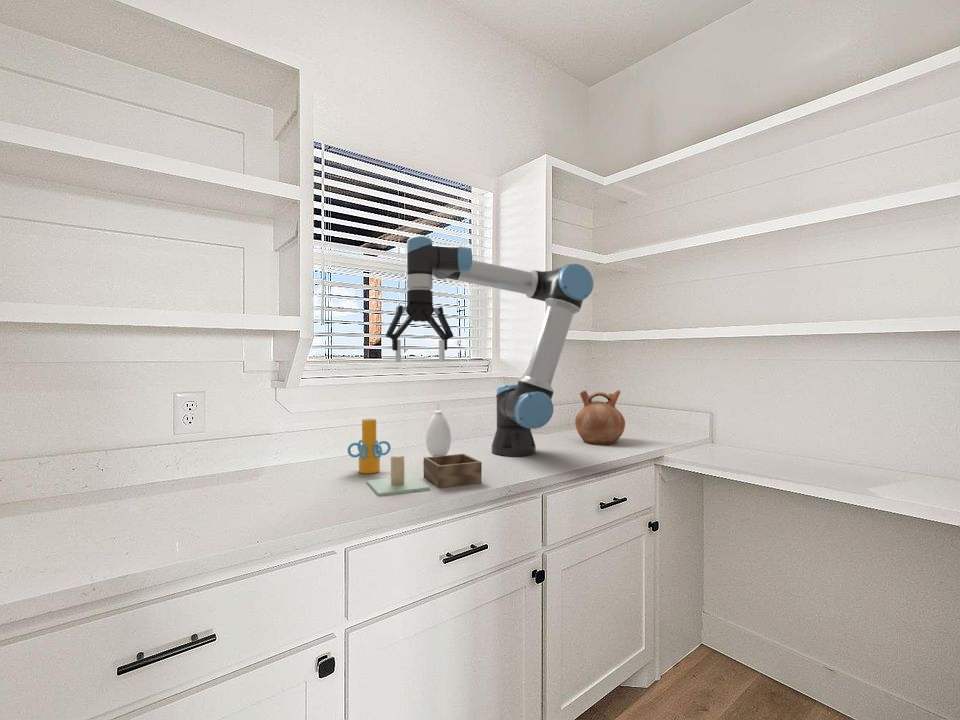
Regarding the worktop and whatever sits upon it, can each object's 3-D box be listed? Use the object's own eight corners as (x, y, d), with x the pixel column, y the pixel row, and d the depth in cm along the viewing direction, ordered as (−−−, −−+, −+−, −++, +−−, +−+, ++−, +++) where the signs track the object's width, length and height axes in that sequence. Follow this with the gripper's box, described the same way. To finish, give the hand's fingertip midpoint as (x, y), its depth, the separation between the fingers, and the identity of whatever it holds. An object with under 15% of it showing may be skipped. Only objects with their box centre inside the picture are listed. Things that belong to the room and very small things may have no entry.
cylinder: (378, 477, 138) (377, 423, 138) (342, 475, 140) (342, 422, 140) (394, 467, 150) (394, 417, 150) (361, 466, 152) (361, 416, 152)
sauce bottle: (441, 462, 157) (441, 404, 157) (421, 459, 161) (421, 403, 161) (455, 457, 164) (455, 402, 164) (435, 455, 168) (435, 401, 167)
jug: (623, 439, 199) (623, 388, 198) (626, 447, 181) (626, 392, 181) (576, 437, 203) (576, 387, 202) (574, 445, 185) (574, 391, 185)
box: (463, 472, 143) (463, 453, 143) (481, 482, 132) (481, 462, 132) (423, 477, 138) (423, 457, 138) (438, 488, 127) (438, 466, 127)
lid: (414, 479, 138) (414, 449, 138) (430, 491, 126) (429, 459, 126) (366, 485, 132) (366, 454, 132) (378, 498, 121) (378, 464, 120)
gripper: (453, 293, 158) (454, 360, 158) (375, 289, 147) (375, 362, 148) (463, 290, 151) (463, 361, 152) (381, 286, 140) (382, 362, 141)
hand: (420, 361), depth 150 cm, fingers open, 13 cm apart
